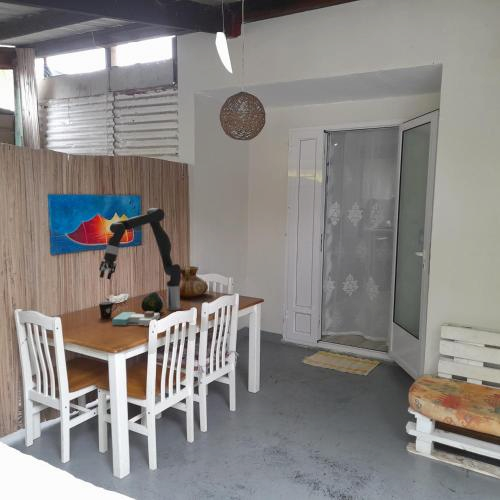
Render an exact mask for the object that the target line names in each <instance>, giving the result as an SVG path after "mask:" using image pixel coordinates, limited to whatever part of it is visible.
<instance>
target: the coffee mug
mask: <svg viewBox="0 0 500 500" xmlns="http://www.w3.org/2000/svg"><path fill="white" fill-rule="evenodd" d="M113 305H115V308H114V309H113ZM98 306H99V312H100V313H99V314H100V318H101V319H102V320H103V319H111V318H112V314H113V312H114V311H115V310H116V309H117V308H118V304H117V303H116V302H115V303H114V302H113V301H110V300H109V301H100V302H99V303H98Z"/></svg>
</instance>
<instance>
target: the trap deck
mask: <svg viewBox="0 0 500 500" xmlns="http://www.w3.org/2000/svg"><path fill="white" fill-rule="evenodd" d="M160 314H161V313H159V312H156V313H155V312H154V316H153V317H144V313H137V312H134V311H133V312H132V311H122V312H121V313H119V314H118V315H116V316H114V318H112V325H113V326H134V325H144V326H143V327H149V326H148V325H149V322H150V321H151V320H153V319H156V320H157V321H159V320H160V319H159V318H161V317H160ZM158 319H159V320H158Z"/></svg>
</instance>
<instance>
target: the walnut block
mask: <svg viewBox="0 0 500 500" xmlns="http://www.w3.org/2000/svg"><path fill="white" fill-rule="evenodd" d="M154 313H155V312H154V311H146V312H145V311H144V313H143V314H144V317H153V316H154Z"/></svg>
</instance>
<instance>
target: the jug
mask: <svg viewBox="0 0 500 500" xmlns="http://www.w3.org/2000/svg"><path fill="white" fill-rule="evenodd" d="M180 268H181V281H180V299H197V298H199V296H200V297H201V296H203V295H204V294H206V292H208V290H209V286H208V284H207V282H206V281H205V280H204V279H202V278H200V277H198V276H197V273H198V270H199V267H198V266H189V265H187V266H180ZM196 297H197V298H196Z"/></svg>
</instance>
